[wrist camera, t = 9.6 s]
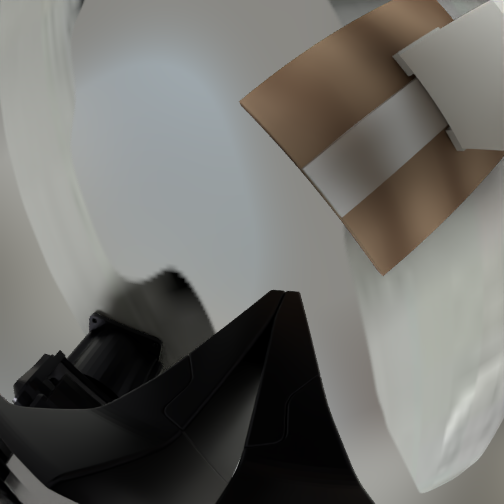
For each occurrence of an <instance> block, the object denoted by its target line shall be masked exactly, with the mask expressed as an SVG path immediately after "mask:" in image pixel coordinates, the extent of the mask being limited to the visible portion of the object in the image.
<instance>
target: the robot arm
mask: <svg viewBox="0 0 504 504" xmlns="http://www.w3.org/2000/svg"><path fill="white" fill-rule="evenodd" d="M94 318H95V319H96V320H97V321H96V320H95V319H94ZM154 343H156V344H157V345H155V344H154ZM161 350H162V341H161V340H160V339H158V338H156V337H153V336H150V335H148V334H145V333H142V332H140V331H137V330H135V329H132V328H130V327H127V326H125V325H122V324H120V323H118V322H115V321H113V320H110V319H108V318H106V317H104V316H101V315H99V314H97V313H93V314H92V315H91V316H90V318H89V333H88V334H87V336H86V337H85V338H84V339H83V340H82V341H81V342H80V344H79V345H78V346H77V347H76V348H75V349H74V351H73V352H72V353H71V354H70V355H69V356H68V358H66V357H65V355H64V354H63V353H62V351H61V350H60V351H59V352H58V353H57V354H56V355H55V356H54V355H47V354H44V355H43V356H42V357H41V359H40V360H39V361H38V362H37V363H36V364H35V365H34V366H33V367H32V368H31V369H30V370H29V371H27V372H26V373H25V374H24V375H23V376H22V377H21V378H19V379H18V380H17V382H16V383H15V384H14V386H13V387H14V394H15V398H14V400H13V403H14V405H13V404H11V403H9V402H8V401H7V400H6V399H5V398H4V397H3V396H2V395H1V394H0V504H375V503H374V501H373V500H372V499H371V497H370V496H369V495H368V494H367V492H366V491H365V489H364V488H363V486H362V485H361V483H360V481H359V479H358V478H357V476H356V474H355V472H354V469H353V467H352V465H351V463H350V460H349V458H348V455H347V453H346V450H345V448H344V445H343V443H342V440H341V438H340V435H339V433H338V430H337V428H336V425H335V423H334V420H333V417H332V414H331V412H330V409H329V406H328V403H327V399H326V395H325V392H324V388H323V383H322V379H321V377H320V371H319V367H318V363H317V358H316V355H315V351H314V346H313V342H312V338H311V334H310V330H309V326H308V322H307V318H306V314H305V310H304V306H303V302H302V299H301V295H300V293H299V292H295V291H287V292H284V291H281V290H271V291H269V292H268V293H267V294H266V295H264V296H263V297H262V298H261V299H259V300H258V301H257V302H256V303H254V304H253V305H252V306H251V307H249V308H248V309H247V310H246V311H244V312H243V313H242V314H241V315H239V316H238V317H237V318H235V319H234V320H233V321H232V322H230V323H229V324H228V325H226V326H225V327H224V328H223V329H221V330H220V331H219V332H217V333H216V334H215V335H213V336H212V337H211V338H210V339H208V340H207V341H206V342H204V343H203V344H202V345H200V346H199V347H198V348H196V349H195V350H194V351H192V352H191V353H190V354H189V356H188V355H187V356H185V357H184V358H183V359H181V360H180V361H179V362H177V363H176V364H175V365H173V366H172V367H170V368H169V369H167V370H166V371H164V372H163V373H162V369H163V364H162V363H161V362H159V361H160V356H161ZM239 460H240V461H239ZM238 462H239V464H238ZM237 464H238V467H237ZM236 467H237V469H236ZM235 469H236V471H235ZM234 471H235V473H234ZM233 473H234V475H233Z"/></svg>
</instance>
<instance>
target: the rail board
mask: <svg viewBox="0 0 504 504" xmlns="http://www.w3.org/2000/svg"><path fill="white" fill-rule="evenodd" d="M452 21H454V20H453V19H452V18H451V16H450V15H449V14H448V13H447V12H446V11H445V9H444V8H443V7H442V6H441V5H440V4H439V3H438V2H437V0H392V1H390V2H388V3H386V4H384V5H382V6H380V7H378V8H376V9H374V10H372V11H371V12H369V13H367V14H365V15H363V16H361V17H360V18H358V19H356V20H354V21H353V22H351V23H349V24H347V25H346V26H344V27H342V28H341V29H339V30H337V31H336V32H334V33H333V34H331V35H329V36H328V37H326V38H325V39H323V40H322V41H320V42H318V43H317V44H315V45H314V46H312V47H311V48H310V49H308V50H306V51H305V52H304V53H302V54H301V55H299V56H298V57H296V58H295V59H294V60H292V61H291V62H289V63H288V64H287V65H285V66H284V67H282V68H281V69H280V70H278V71H277V72H276V73H274V74H273V75H272V76H270V77H269V78H268V79H267V80H265V81H264V82H263V83H261V84H260V85H259V86H258V87H256V88H255V89H254V90H253V91H251V92H250V93H249V94H248V95H246V96H245V97H244V98H243V99H242V100H240V104H241V106H242V107H243V108H244V109H245V110H246V111H247V112H248V113H249V114H250V115H251V116H252V117H253V118H254V119H255V120H256V121H257V123H258V124H259V125H260V126H261V127H262V128H263V129H264V130H265V131H266V132H267V133H268V134H269V135H270V137H271V138H272V139H273V140H274V141H275V142H276V143H277V144H278V145H279V146H280V148H281V149H282V150H283V151H284V152H285V153H286V154H287V155H288V157H289V158H290V159H291V160H292V161H293V162H294V163H295V165H296V166H297V167H298V168H299V169H300V170H301V172H302V173H303V174H304V175H305V176H306V177H307V179H308V180H309V181H310V182H311V184H312V185H313V186H314V187H315V188H316V190H317V191H318V192H319V193H320V195H321V196H322V197H323V198H324V200H325V201H326V202H327V203H328V205H329V206H330V207H331V208H332V210H333V211H334V212H335V213H336V215H337V216H338V217H339V219H340V220H341V221H342V222H343V224H344V225H345V226H346V228H347V229H348V230H349V232H350V233H351V234H352V236H353V237H354V238H355V240H356V241H357V243H358V244H359V245H360V247H361V248H362V249H363V251H364V252H365V254H366V255H367V256H368V258H369V259H370V261H371V262H372V263H373V265H374V266H375V268H376V269H377V270H378V271H379V272H380V273H381V274H382V276H384V275H385V274H386V273H387V272H388V271H390V270H391V269H392V268H393V267H394V266H395V265H397V264H398V263H399V262H400V261H401V260H402V259H404V258H405V257H406V256H407V255H408V254H409V253H410V252H411V251H413V250H414V249H415V248H416V247H417V246H418V245H419V244H420V243H421V242H422V241H423V240H425V239H426V238H427V237H428V236H429V235H430V234H431V233H432V232H433V231H434V230H435V229H436V228H437V227H438V226H439V225H440V224H441V223H442V222H443V221H444V220H445V219H446V218H447V217H449V216H450V215H451V214H452V212H453V211H454V210H455V209H456V208H457V207H458V206H459V205H460V204H461V203H462V202H463V201H464V200H465V199H466V198H467V197H468V196H469V195H470V194H471V193H472V192H473V191H474V190H475V188H476V187H477V186H478V185H479V184H480V183H481V182H482V181H483V180H484V179H485V177H486V176H487V175H488V174H489V173H490V172H491V171H492V169H493V168H494V167H495V166H496V165H497V164H498V162H499V161H500V160H501V159H502V158H503V156H504V151H500V150H485V149H465V150H464V151H457V150H456V148H455V146H454V145H453V143H452V141H451V139H450V138H449V136H448V134H447V133H446V130H447V129H448V128H449V127H450V126H449V124H448V122H447V121H446V119H445V117H444V116H443V114H442V113H441V111H440V110H439V108H438V106H437V105H436V103H435V102H434V100H433V99H432V97H431V96H430V95H429V93H428V92H427V90H426V89H425V87H424V86H423V85H422V83H421V82H420V81H419V79H418V78H417V77H416V75H415V74H412V75H410V76H408V75H407V74H406V73H405V71H404V70H403V69H402V68H401V66H400V65H399V64H398V63H397V62H396V60H395V59H394V58H393V57H392V56H394V55H395V54H396V53H398V52H399V51H401V50H402V49H404V48H405V47H407V46H408V45H410V44H411V43H413V42H415V41H416V40H418V39H419V38H421V37H422V36H424V35H426V34H427V33H429V32H431V31H432V30H434V29H435V28H437V27H439V28H440V29H441V28H442V27H444V26H446V25H447V24H449V23H451V22H452Z"/></svg>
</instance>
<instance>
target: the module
mask: <svg viewBox="0 0 504 504" xmlns="http://www.w3.org/2000/svg"><path fill="white" fill-rule="evenodd" d="M392 57H393V58H394V59H395V60H396V62H397V63H398V64H399V65H400V66H401V68H402V69H403V70H404V71H405V73H406V74H407V75H408V76H410V75H412V74H415V75H416V77H417V78H418V79H419V81H420V82H421V83H422V85H423V86H424V87H425V89H426V90H427V92H428V93H429V95H430V96H431V97H432V99H433V100H434V102H435V103H436V105H437V106H438V108H439V110H440V111H441V113H442V114H443V116H444V117H445V119H446V121H447V122H448V124H449V126H450V127H449V128H448V129H447V130H446V133H447V134H448V136H449V138H450V139H451V141H452V143H453V145H454V146H455V148H456V150H457V151H464V150H465V149H485V150H500V151H504V0H490V1H488V2H486V3H484V4H482V5H480V6H479V7H477V8H475V9H473V10H471V11H470V12H468V13H466V14H464V15H463V16H461V17H459V18H457V19H456V20H454V21H452V22H451V23H449V24H447V25H446V26H444V27H442V28H441V29H440V28H439V27H437V28H435V29H434V30H432V31H431V32H429V33H427V34H426V35H424V36H422V37H421V38H419V39H418V40H416V41H415V42H413V43H411V44H410V45H408V46H407V47H405V48H404V49H402V50H401V51H399V52H398V53H396V54H395V55H394V56H392Z"/></svg>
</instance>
